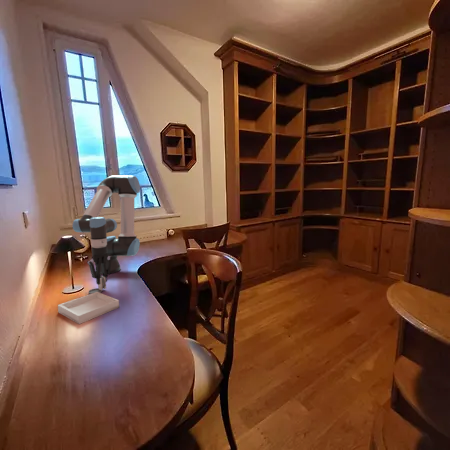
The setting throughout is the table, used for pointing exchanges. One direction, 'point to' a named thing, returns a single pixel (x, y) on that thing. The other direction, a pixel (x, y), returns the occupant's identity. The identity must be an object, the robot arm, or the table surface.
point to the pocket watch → (97, 288)
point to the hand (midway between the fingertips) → (102, 288)
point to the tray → (88, 307)
